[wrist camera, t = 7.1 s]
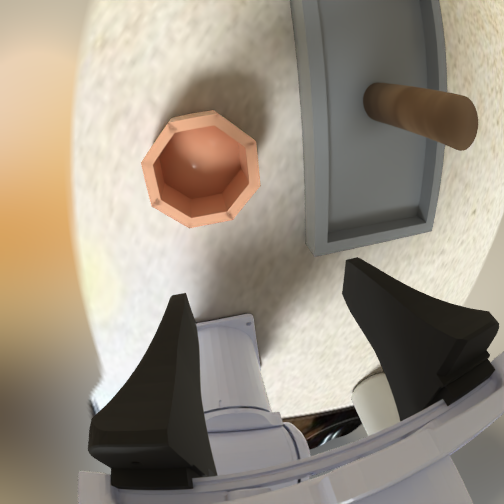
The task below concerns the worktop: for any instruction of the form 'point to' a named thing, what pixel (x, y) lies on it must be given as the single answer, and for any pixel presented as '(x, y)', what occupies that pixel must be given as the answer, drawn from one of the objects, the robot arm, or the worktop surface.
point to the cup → (201, 169)
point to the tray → (365, 119)
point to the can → (375, 404)
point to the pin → (424, 112)
